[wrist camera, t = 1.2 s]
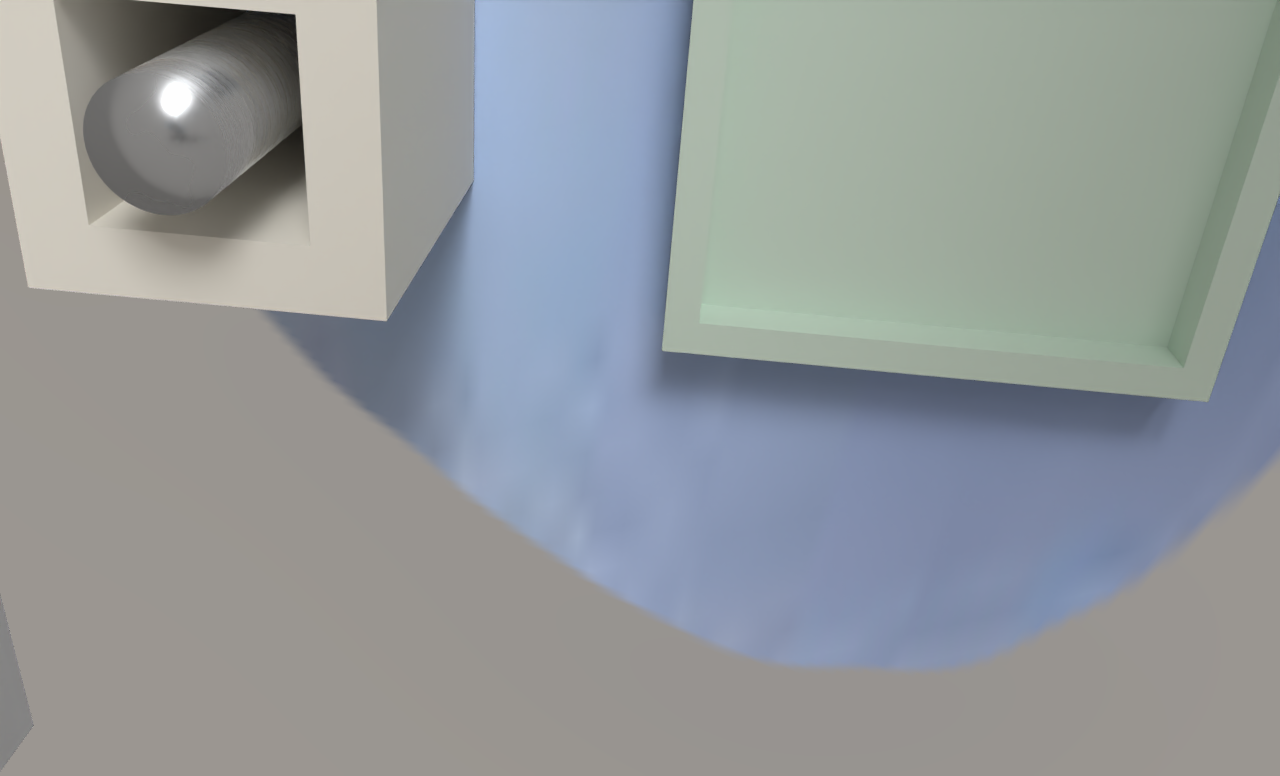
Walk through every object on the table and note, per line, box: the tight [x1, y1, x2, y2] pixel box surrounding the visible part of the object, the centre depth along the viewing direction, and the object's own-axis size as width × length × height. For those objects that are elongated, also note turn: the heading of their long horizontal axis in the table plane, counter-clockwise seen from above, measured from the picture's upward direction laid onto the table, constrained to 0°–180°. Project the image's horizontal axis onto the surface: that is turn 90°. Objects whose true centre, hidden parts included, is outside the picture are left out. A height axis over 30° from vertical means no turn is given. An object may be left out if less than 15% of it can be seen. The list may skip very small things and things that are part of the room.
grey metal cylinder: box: [83, 10, 302, 215], centre depth 28 cm, size 4×4×12 cm
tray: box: [662, 0, 1280, 402], centre depth 31 cm, size 16×16×2 cm
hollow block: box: [0, 0, 475, 321], centre depth 28 cm, size 8×8×10 cm
